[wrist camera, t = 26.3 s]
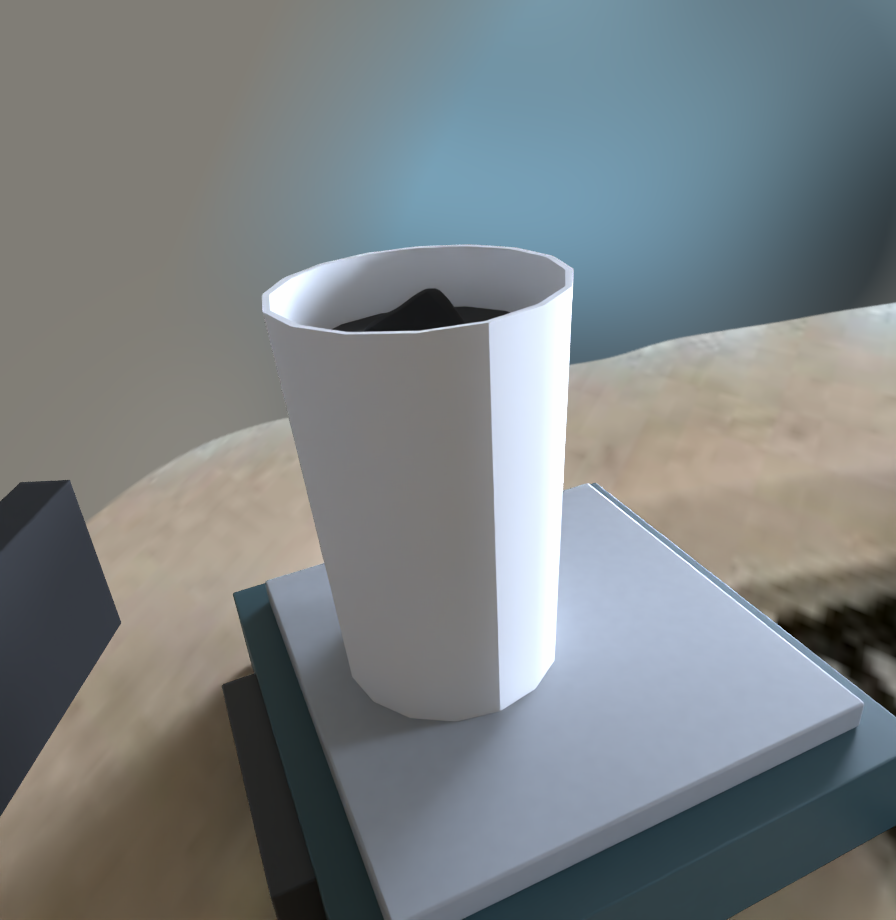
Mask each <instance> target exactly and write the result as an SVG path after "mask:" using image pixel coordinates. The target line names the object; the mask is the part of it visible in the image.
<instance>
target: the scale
mask: <svg viewBox="0 0 896 920" xmlns="http://www.w3.org/2000/svg"><path fill="white" fill-rule="evenodd" d="M233 596H234V600H235V604H236V608H237V612H238V615H239V619H240V623H241V627H242V630H243V634H244V638H245V642H246V645H247V649H248V653H249V657H250V661H251V664H252V667H253V671H254V674H252V675H249V676H246V677H243V678H240V679H237V680H234V681H231V682H228V683H225V684H223V685H222V690H223V694H224V698H225V703H226V707H227V711H228V716H229V720H230V724H231V729H232V733H233V737H234V742H235V746H236V750H237V755H238V759H239V763H240V768H241V772H242V776H243V780H244V785H245V789H246V793H247V798H248V802H249V806H250V811H251V815H252V819H253V824H254V828H255V832H256V837H257V841H258V845H259V850H260V854H261V858H262V863H263V867H264V871H265V876H266V880H267V884H268V889H269V893H270V897H271V901H272V904H273V907H274V910H275V914H276V917H277V920H726V919H728V918H730V917H732V916H734V915H735V914H737V913H739V912H741V911H743V910H744V909H746V908H748V907H750V906H751V905H753V904H755V903H757V902H759V901H760V900H762V899H764V898H766V897H768V896H769V895H771V894H773V893H775V892H777V891H778V890H780V889H782V888H784V887H786V886H787V885H789V884H791V883H793V882H795V881H796V880H798V879H800V878H802V877H804V876H805V875H807V874H809V873H811V872H813V871H814V870H816V869H818V868H820V867H822V866H823V865H825V864H827V863H829V862H831V861H832V860H834V859H836V858H838V857H840V856H841V855H843V854H845V853H847V852H848V851H850V850H852V849H854V848H856V847H857V846H859V845H861V844H863V843H865V842H866V841H868V840H870V839H872V838H874V837H875V836H877V835H879V834H881V833H883V832H884V831H886V830H888V829H890V828H892V827H893V826H895V825H896V717H895V716H894V715H892V714H891V713H890V712H888V711H887V710H886V709H885V708H883V707H882V706H881V705H880V704H878V703H877V702H876V701H874V700H873V699H872V698H871V697H869V696H868V695H867V694H865V693H864V692H863V691H862V690H860V689H859V688H858V687H857V686H855V685H854V684H853V683H851V682H850V681H849V680H848V679H846V678H845V677H844V676H842V675H841V674H840V673H839V672H837V671H836V670H835V669H833V668H832V667H831V666H830V665H828V664H827V663H826V662H825V661H823V660H822V659H821V658H819V657H818V656H817V655H816V654H814V653H813V652H812V651H810V650H809V649H808V648H807V647H805V646H804V645H803V644H801V643H800V642H799V641H798V640H796V639H795V638H794V637H793V636H791V635H790V634H789V633H787V632H786V631H785V630H784V629H782V628H781V627H780V626H778V625H777V624H776V623H775V622H773V621H772V620H771V619H769V618H768V617H767V616H766V615H764V614H763V613H762V612H761V611H759V610H758V609H757V608H755V607H754V606H753V605H752V604H750V603H749V602H748V601H746V600H745V599H744V598H743V597H741V596H740V595H739V594H737V593H736V592H735V591H734V590H732V589H731V588H730V587H729V586H727V585H726V584H725V583H723V582H722V581H721V580H720V579H718V578H717V577H716V576H714V575H713V574H712V573H711V572H709V571H708V570H707V569H705V568H704V567H703V566H702V565H700V564H699V563H698V562H697V561H695V560H694V559H693V558H691V557H690V556H689V555H688V554H686V553H685V552H684V551H682V550H681V549H680V548H679V547H677V546H676V545H675V544H673V543H672V542H671V541H670V540H668V539H667V538H666V537H665V536H663V535H662V534H661V533H659V532H658V531H657V530H656V529H654V528H653V527H652V526H650V525H649V524H648V523H647V522H645V521H644V520H643V519H641V518H640V517H639V516H638V515H636V514H635V513H634V512H633V511H631V510H630V509H629V508H627V507H626V506H625V505H624V504H622V503H621V502H620V501H618V500H617V499H616V498H615V497H613V496H612V495H611V494H609V493H608V492H607V491H606V490H604V489H603V488H602V487H601V486H599V485H598V484H597V483H593V484H583V485H580V486H577V487H574V488H570V489H567V490H564V491H563V494H562V515H561V535H560V555H559V575H558V596H557V616H556V640H555V657H554V662H553V663H552V665H551V666H550V668H549V669H548V671H547V672H546V674H545V675H544V677H543V678H542V680H541V681H540V683H539V684H538V686H537V687H536V689H535V690H533V691H531V692H530V693H528V694H527V695H525V696H524V697H522V698H520V699H519V700H517V701H516V702H514V703H512V704H511V705H509V706H508V707H506V708H505V709H503V710H501V711H499V712H494V713H490V714H486V715H482V716H477V717H473V718H469V719H465V720H461V721H456V722H454V721H441V720H428V719H415V718H409V717H407V716H404V715H402V714H400V713H398V712H396V711H393V710H391V709H389V708H387V707H384V706H382V705H380V704H378V703H375V702H373V700H372V699H371V698H370V697H369V696H368V695H367V693H366V692H365V691H364V690H363V689H362V688H361V687H360V685H359V684H358V683H357V682H356V681H355V680H354V678H353V677H352V674H351V670H350V666H349V661H348V657H347V653H346V649H345V645H344V641H343V637H342V633H341V629H340V625H339V621H338V617H337V613H336V608H335V604H334V600H333V596H332V592H331V588H330V584H329V580H328V576H327V572H326V568H325V564H324V563H323V564H320V565H317V566H314V567H310V568H307V569H304V570H300V571H297V572H294V573H291V574H287V575H284V576H281V577H277V578H274V579H271V580H267V581H266V582H265V583H264V584H261V585H258V586H255V587H251V588H248V589H245V590H241V591H238V592H235V593H233Z"/></svg>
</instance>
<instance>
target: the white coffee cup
mask: <svg viewBox="0 0 896 920" xmlns="http://www.w3.org/2000/svg"><path fill="white" fill-rule="evenodd" d="M573 271H574V269H573V268H571V267H570V266H568V265H567V264H565V263H563V262H562V261H560V260H559V259H557V258H555V257H554V256H551V255H547V254H543V253H538V252H534V251H529V250H525V249H520V248H516V247H501V246H484V245H469V244H468V245H444V246H443V245H442V246H417V247H410V248H401V249H394V250H386V251H378V252H371V253H365V254H361V255H356V256H352V257H347V258H343V259H339V260H334V261H330V262H326V263H321V264H318V265H316V266H313V267H311V268H308V269H305V270H303V271H300V272H298V273H296V274H292V275H290V276H287V277H285V278H283V279H281V281H279V282H278V283H276V284H275V285H274V286H273V287H271V288H270V289H269V290H267V291H266V292H265V293H264V294H262V305H263V306H262V307H263V315H264V319H265V323H266V327H267V331H268V335H269V339H270V343H271V347H272V352H273V356H274V360H275V364H276V368H277V372H278V376H279V380H280V384H281V388H282V392H283V396H284V401H285V404H286V409H287V413H288V417H289V421H290V425H291V429H292V433H293V437H294V441H295V445H296V449H297V454H298V458H299V462H300V466H301V470H302V474H303V478H304V482H305V486H306V490H307V494H308V498H309V502H310V507H311V511H312V515H313V519H314V523H315V527H316V531H317V535H318V539H319V543H320V547H321V551H322V555H323V560H324V564H325V568H326V572H327V576H328V580H329V584H330V588H331V592H332V596H333V600H334V604H335V608H336V613H337V617H338V621H339V625H340V629H341V633H342V637H343V641H344V645H345V649H346V653H347V657H348V661H349V666H350V670H351V674H352V677H353V678H354V680H355V681H356V682H357V683H358V684H359V685H360V687H361V688H362V689H363V690H364V691H365V692H366V693H367V695H368V696H369V697H370V698H371V699H372V700H373V702H375V703H378V704H380V705H382V706H384V707H387V708H389V709H391V710H393V711H396V712H398V713H400V714H402V715H404V716H407V717H409V718H415V719H428V720H441V721H454V722H456V721H461V720H465V719H469V718H473V717H477V716H482V715H486V714H490V713H494V712H499V711H501V710H503V709H505V708H506V707H508V706H509V705H511V704H512V703H514V702H516V701H517V700H519V699H520V698H522V697H524V696H525V695H527V694H528V693H530V692H531V691H533V690H535V689H536V687H537V686H538V684H539V683H540V681H541V680H542V678H543V677H544V675H545V674H546V672H547V671H548V669H549V668H550V666H551V665H552V663H553V662H554V657H555V640H556V616H557V596H558V575H559V555H560V535H561V515H562V494H563V474H564V454H565V434H566V413H567V393H568V373H569V352H570V351H569V350H570V332H571V312H572V290H573Z"/></svg>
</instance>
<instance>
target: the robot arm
mask: <svg viewBox="0 0 896 920" xmlns="http://www.w3.org/2000/svg"><path fill="white" fill-rule="evenodd" d="M120 624H121V621H120V618H119V615H118V612H117V610H116V607H115V604H114V601H113V599H112V596H111V593H110V590H109V588H108V585H107V582H106V579H105V577H104V574H103V571H102V568H101V565H100V563H99V560H98V557H97V554H96V552H95V549H94V546H93V543H92V541H91V538H90V535H89V532H88V529H87V527H86V524H85V521H84V518H83V516H82V513H81V510H80V508H79V505H78V502H77V499H76V497H75V493H74V491H73V488H72V485H71V482H70V480H61V481H40V482H21V483H19V484H18V485H17V486H16V487H15V488H14V489H13V490H12V491H11V492H10V493H9V494H8V495H7V496H6V497H5V498H3V499H2V500H1V501H0V816H1V815H2V813H3V811H4V810H5V808H6V807H7V805H8V803H9V802H10V800H11V799H12V797H13V795H14V794H15V792H16V791H17V789H18V787H19V786H20V784H21V783H22V781H23V779H24V778H25V776H26V774H27V773H28V771H29V770H30V768H31V766H32V765H33V763H34V762H35V760H36V758H37V757H38V755H39V754H40V752H41V750H42V749H43V747H44V746H45V744H46V742H47V741H48V739H49V738H50V736H51V734H52V733H53V731H54V730H55V728H56V726H57V725H58V723H59V722H60V720H61V718H62V717H63V715H64V714H65V712H66V710H67V709H68V707H69V706H70V704H71V702H72V701H73V699H74V698H75V696H76V694H77V693H78V691H79V690H80V688H81V686H82V685H83V683H84V682H85V680H86V678H87V677H88V675H89V674H90V672H91V670H92V669H93V667H94V666H95V664H96V662H97V661H98V659H99V658H100V656H101V654H102V653H103V651H104V650H105V648H106V646H107V645H108V643H109V642H110V640H111V638H112V637H113V635H114V634H115V632H116V630H117V629H118V627H119V626H120Z"/></svg>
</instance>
